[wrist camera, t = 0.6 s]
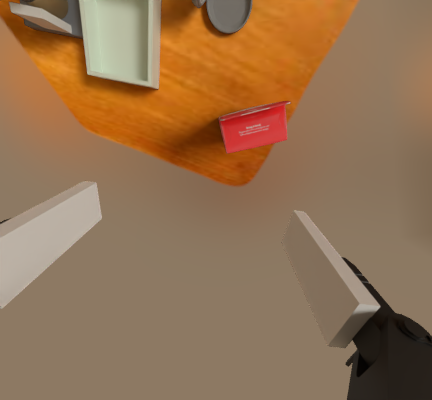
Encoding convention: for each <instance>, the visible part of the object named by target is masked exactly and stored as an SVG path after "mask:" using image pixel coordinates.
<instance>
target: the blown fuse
mask: <svg viewBox="0 0 432 400" xmlns="http://www.w3.org/2000/svg"><path fill="white" fill-rule="evenodd" d="M22 1H24V2H26V3H28V4H30V5H31V6H33V7H37V8H42V9H44V10H45V11H47V12H49V13H50V14H52V15H54V16H56V17H57V18H59V19H63V18H64V17H65V16H66V15H67V13H68V1H67V0H22Z"/></svg>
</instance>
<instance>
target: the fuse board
mask: <svg viewBox="0 0 432 400" xmlns="http://www.w3.org/2000/svg"><path fill="white" fill-rule="evenodd" d="M67 1H68V13H67V15H66V16H65V17H64V18H63V19H59V18H57V17H56V16H54V15H52V14H50V13H49V12H47V11H45V10H44V9H42V8H37V7H33V6H31V5H30V4H28V3H26V2H24V1H22V0H20V4H18V3H13V2H9V5H10V9H11V12H12V13H14V14H16V15H18V16H20V17H22V18H24V23H25V25H26V26H28V27H30V28H33V29H36V30H41V31H46V32H51V33H55V34H60V35H65V36H70V37H75V38H80V39H83V31H82V22H81V13H80V4H79V0H67Z"/></svg>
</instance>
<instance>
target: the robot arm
mask: <svg viewBox="0 0 432 400" xmlns="http://www.w3.org/2000/svg"><path fill="white" fill-rule="evenodd" d="M101 219H102V216H101V209H100V203H99V197H98V191H97V184H96V183H95V182H88V181H83V182H81V183H79V184H77V185H75V186H74V187H72V188H70V189H68V190H66V191H64V192H62V193H60V194H58V195H56V196H54V197H52V198H50V199H48V200H46V201H45V202H43V203H41V204H39V205H37V206H35V207H33V208H31V209H29V210H27V211H25V212H23V213H21V214H19V215H17V216H15V217H13V218H10V219H7V220H4V221H2V222H0V308H3V307H4V306H5V305H6V304H8V303H9V302H10V301H11V300H12V299H13V298H14V297H15V296H17V295H18V294H19V293H20V292H21V291H22V290H23V289H24V288H25V287H26V286H27V285H29V284H30V283H31V282H32V281H33V280H34V279H35V278H36V277H37V276H39V275H40V274H41V273H42V272H43V271H44V270H45V269H46V268H48V267H49V266H50V265H51V264H52V263H53V262H54V261H55V260H56V259H58V258H59V257H60V256H61V255H62V254H63V253H64V252H65V251H66V250H68V249H69V248H70V247H71V246H72V245H73V244H74V243H75V242H76V241H77V240H79V239H80V238H81V237H82V236H83V235H84V234H85V233H86V232H87V231H89V230H90V229H91V228H92V227H93V226H94V225H95V224H96V223H97V222H99V221H100V220H101ZM282 245H283V247H284V249H285V252H286V254H287V256H288V258H289V261H290V263H291V265H292V267H293V270H294V271H295V274H296V276H297V279H298V281H299V283H300V285H301V288H302V290H303V292H304V294H305V296H306V299H307V301H308V303H309V306H310V308H311V310H312V312H313V314H314V317H315V319H316V321H317V323H318V326H319V328H320V330H321V332H322V334H323V337H324V339H325V342H326V344H327V346H331V347H340V348H346V347H347V346H348V344H349V343H350V342H351V341H352V340H353V342H354V343H355V345H356V347H357V351H356V352H355V353H354V354H353V355H352V356H351V357H350V358H349V359H348V360H347V362H346V365H347V366H350V364H351V363H353V364H352V371H351V377H350V383H349V390H348V396H347V400H432V336H431V335H430V334H429V333H428V332H427V331H426V330H425V329H424V328H423V327H422V326H420V325H419V324H418V323H416V322H415V321H413V320H412V319H410V318H408V317H406V316H404V315H402V314H397V313H395V312H394V311H393V310H392V309H391V307H390V306H389V305H388V304H387V303H386V302H385V300H384V299H383V298H382V297H381V296H380V294H379V293H378V292H377V291H376V290H375V289H374V287H373V286H372V285H371V284H369V282H368V280H367V279H366V278H365V277H364V276H362V273H361V272H360V271H359V270H358V269H357V267H356V266H355V265H353V264H352V263H351V262H350V261H348V260H347V259H346V258H343V257H340V255H339V254H338V253H337V251H336V250H335V249H334V248H333V247H332V245H331V244H330V243H329V242H328V240H327V239H326V238H325V237H324V235H323V234H322V233H321V232H320V230H319V229H318V228H317V227H316V225H314V223H313V222H312V221H311V219H310V218H309V217H308V215H307V214H306V213H305V212H303V211H295V210H293V213H292V216H291V218H290V221H289V223H288V226H287V229H286V231H285V234H284V237H283V239H282Z"/></svg>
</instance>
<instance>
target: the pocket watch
mask: <svg viewBox="0 0 432 400" xmlns="http://www.w3.org/2000/svg"><path fill="white" fill-rule="evenodd" d="M205 1H206V0H192V3H193V4H194V5H195V6H196V7H197V8H200V7H201V6H202V5H203V4H204V3H205ZM251 9H252V0H207V13H208V16H209V19H210V21H211V23H212V24H213V26H214V27H215V28H216V29H217V30H219V31H220V32H222V33H227V34H230V33H235V32H237V31H238V30H240V29H241V28H242V27H243V26H244V25H245V23H246V22H247V20H248V18H249V16H250V12H251Z"/></svg>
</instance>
